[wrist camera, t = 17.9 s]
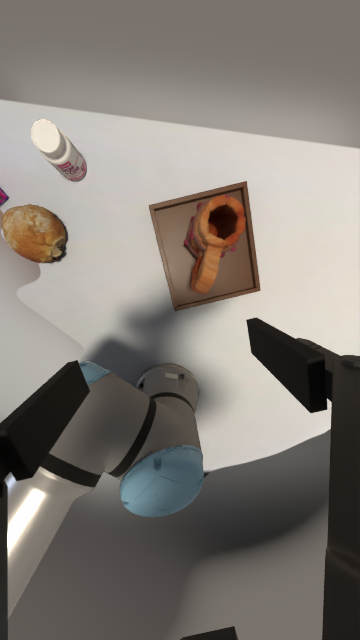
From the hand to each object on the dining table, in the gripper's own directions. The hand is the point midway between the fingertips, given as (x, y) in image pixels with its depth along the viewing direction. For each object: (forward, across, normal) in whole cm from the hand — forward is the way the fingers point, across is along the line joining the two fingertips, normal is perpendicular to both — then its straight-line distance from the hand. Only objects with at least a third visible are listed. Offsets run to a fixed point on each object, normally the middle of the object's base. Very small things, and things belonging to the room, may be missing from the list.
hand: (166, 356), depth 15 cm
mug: (+28, -9, -8) cm, 31 cm away
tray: (+29, -10, -8) cm, 31 cm away
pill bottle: (+29, +11, -28) cm, 42 cm away
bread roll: (+29, +21, -18) cm, 40 cm away
